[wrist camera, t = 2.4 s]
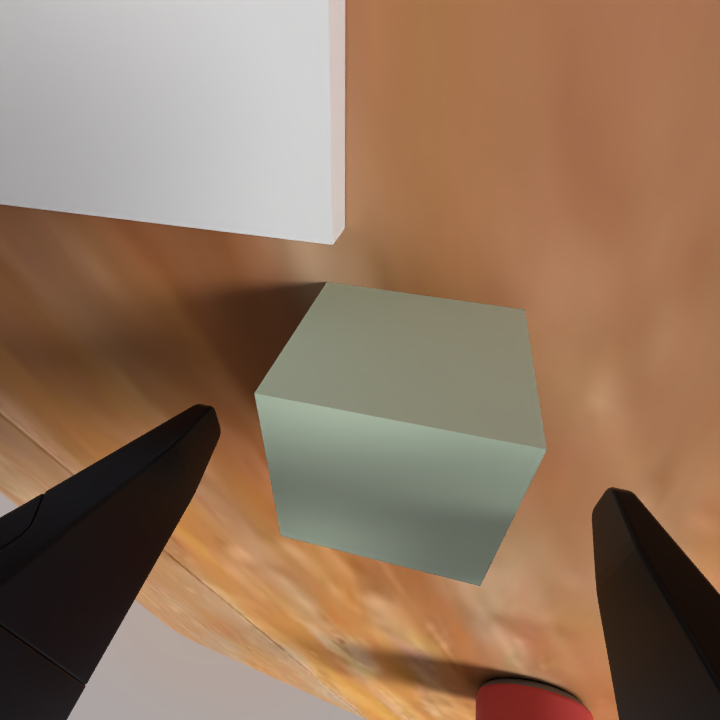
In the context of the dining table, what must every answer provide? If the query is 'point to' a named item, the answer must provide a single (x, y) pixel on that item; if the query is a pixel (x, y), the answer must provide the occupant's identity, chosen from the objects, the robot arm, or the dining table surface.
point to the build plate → (177, 112)
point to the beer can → (527, 702)
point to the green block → (403, 428)
